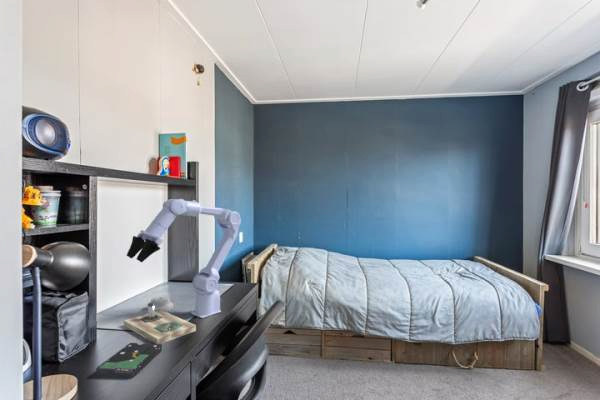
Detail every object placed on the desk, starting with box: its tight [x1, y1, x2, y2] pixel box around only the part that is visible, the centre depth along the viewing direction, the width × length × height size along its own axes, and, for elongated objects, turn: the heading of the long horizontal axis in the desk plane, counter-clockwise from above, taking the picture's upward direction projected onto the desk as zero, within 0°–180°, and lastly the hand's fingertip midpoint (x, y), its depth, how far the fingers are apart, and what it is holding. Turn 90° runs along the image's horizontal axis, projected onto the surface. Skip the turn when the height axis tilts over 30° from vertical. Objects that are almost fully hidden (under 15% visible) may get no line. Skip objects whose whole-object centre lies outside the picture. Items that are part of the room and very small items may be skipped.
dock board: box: [123, 310, 197, 345], centre depth 109 cm, size 14×24×2 cm, turn 53°
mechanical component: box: [146, 295, 174, 312], centre depth 130 cm, size 10×4×10 cm
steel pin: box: [147, 301, 156, 320], centre depth 113 cm, size 3×3×8 cm
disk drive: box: [95, 342, 163, 379], centre depth 86 cm, size 10×3×15 cm
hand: (133, 258), depth 104 cm, fingers open, 7 cm apart
